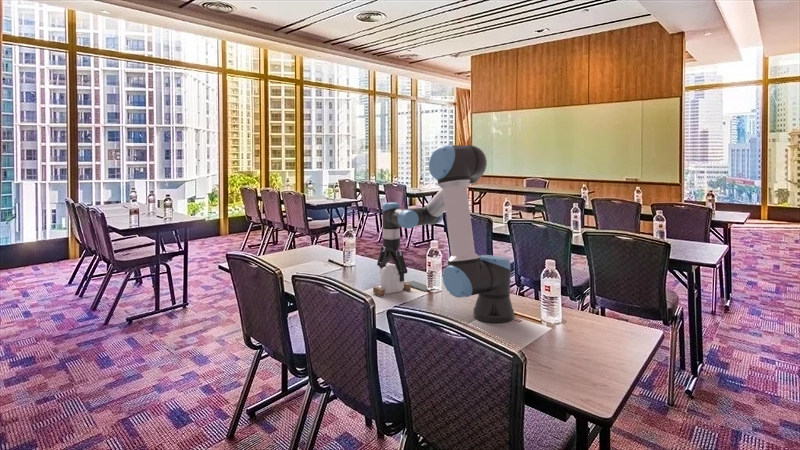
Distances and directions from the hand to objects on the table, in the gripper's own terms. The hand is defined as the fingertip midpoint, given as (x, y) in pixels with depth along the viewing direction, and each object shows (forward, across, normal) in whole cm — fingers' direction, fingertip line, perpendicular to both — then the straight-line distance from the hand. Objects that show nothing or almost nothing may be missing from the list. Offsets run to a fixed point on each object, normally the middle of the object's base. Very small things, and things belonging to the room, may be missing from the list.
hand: (392, 285), depth 221 cm
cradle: (+3, 0, 0) cm, 3 cm away
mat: (+3, 0, -15) cm, 15 cm away
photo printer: (+3, 0, 0) cm, 3 cm away
